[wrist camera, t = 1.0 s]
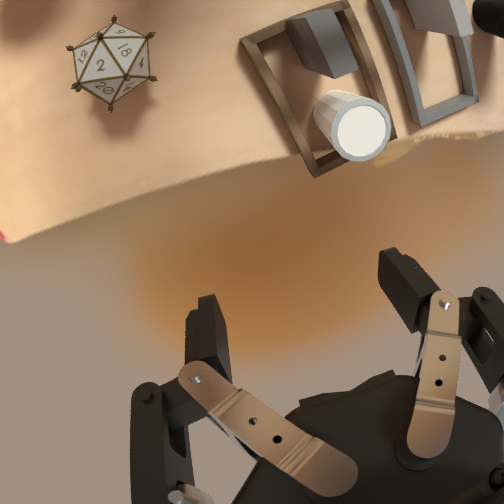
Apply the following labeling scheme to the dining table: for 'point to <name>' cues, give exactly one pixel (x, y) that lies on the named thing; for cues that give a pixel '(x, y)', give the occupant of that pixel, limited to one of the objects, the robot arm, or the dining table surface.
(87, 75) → the game die
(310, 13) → the wooden picture frame
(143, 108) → the dining table surface
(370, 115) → the white cylinder
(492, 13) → the cup
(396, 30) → the grey hollow rectangular frame
